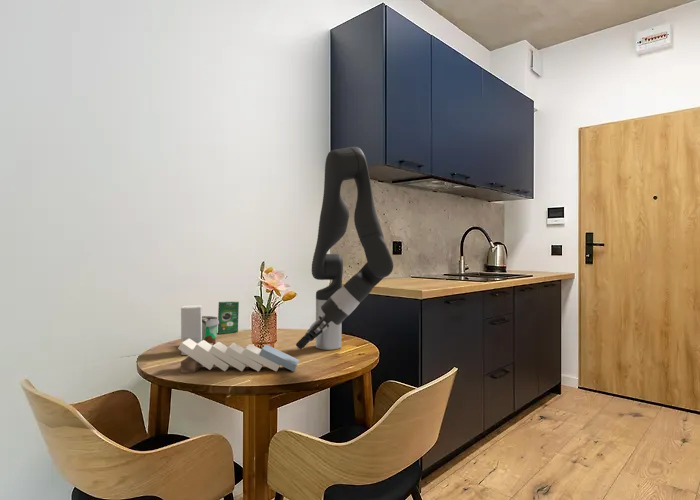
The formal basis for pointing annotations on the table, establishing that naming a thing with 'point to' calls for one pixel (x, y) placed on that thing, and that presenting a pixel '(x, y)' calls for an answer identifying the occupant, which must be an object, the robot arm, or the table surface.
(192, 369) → the block
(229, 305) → the coffee box
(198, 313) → the skincare box
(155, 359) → the table surface
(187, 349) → the domino
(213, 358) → the domino
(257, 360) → the domino
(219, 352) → the domino
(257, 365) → the domino
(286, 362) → the domino
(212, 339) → the food container
